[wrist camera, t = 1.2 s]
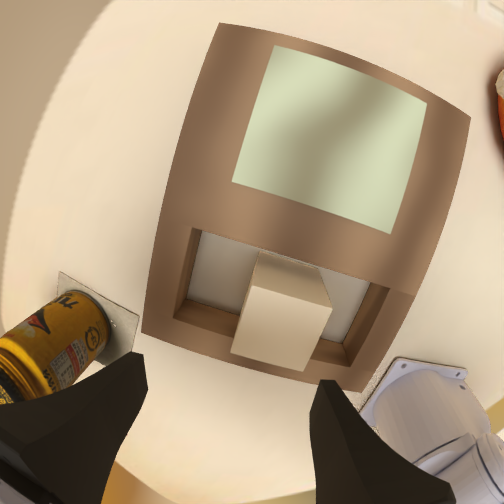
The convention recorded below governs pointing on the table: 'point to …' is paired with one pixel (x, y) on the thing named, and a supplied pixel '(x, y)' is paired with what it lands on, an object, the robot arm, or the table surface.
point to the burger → (501, 99)
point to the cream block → (282, 313)
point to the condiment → (62, 342)
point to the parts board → (305, 189)
